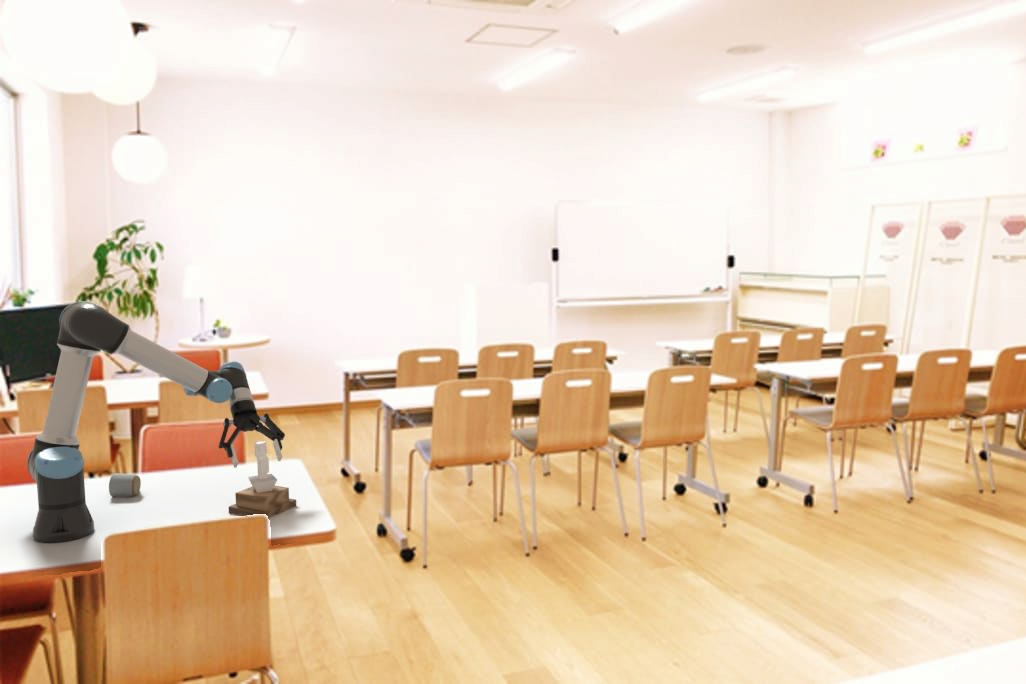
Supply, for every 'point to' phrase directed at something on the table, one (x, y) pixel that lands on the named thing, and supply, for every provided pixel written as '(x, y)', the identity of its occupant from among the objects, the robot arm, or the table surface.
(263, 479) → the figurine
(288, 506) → the walnut plinth
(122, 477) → the ceramic mug
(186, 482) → the table surface
